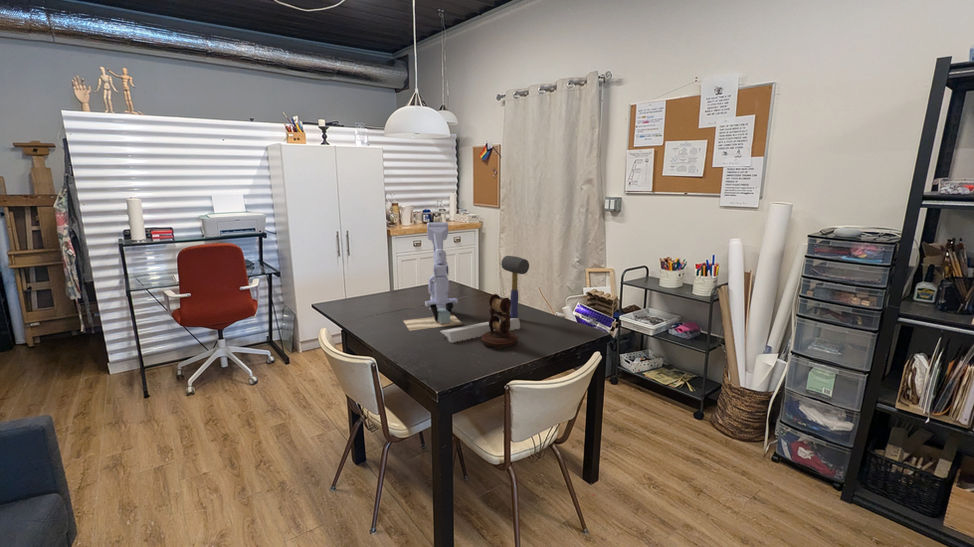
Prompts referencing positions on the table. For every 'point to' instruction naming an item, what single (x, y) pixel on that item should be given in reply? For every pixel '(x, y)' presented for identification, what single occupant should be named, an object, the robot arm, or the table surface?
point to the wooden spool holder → (499, 324)
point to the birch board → (428, 323)
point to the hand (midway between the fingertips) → (441, 319)
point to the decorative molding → (474, 330)
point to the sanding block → (443, 316)
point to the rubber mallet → (514, 278)
